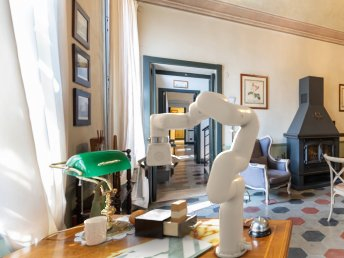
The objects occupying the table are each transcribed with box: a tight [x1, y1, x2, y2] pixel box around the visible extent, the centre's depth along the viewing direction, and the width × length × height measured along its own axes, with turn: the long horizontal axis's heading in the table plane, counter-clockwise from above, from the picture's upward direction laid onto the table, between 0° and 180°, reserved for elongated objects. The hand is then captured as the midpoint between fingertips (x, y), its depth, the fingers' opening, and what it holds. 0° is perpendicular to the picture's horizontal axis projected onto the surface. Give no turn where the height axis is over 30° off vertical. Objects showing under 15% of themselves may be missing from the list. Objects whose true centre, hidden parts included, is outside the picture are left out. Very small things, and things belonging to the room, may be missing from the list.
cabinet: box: [134, 208, 171, 240], centre depth 114 cm, size 15×13×8 cm
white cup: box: [83, 216, 108, 246], centre depth 103 cm, size 8×8×10 cm
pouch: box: [88, 178, 108, 222], centre depth 115 cm, size 11×12×25 cm
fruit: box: [128, 209, 147, 226], centre depth 123 cm, size 8×8×8 cm
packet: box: [170, 199, 188, 224], centre depth 111 cm, size 4×6×13 cm
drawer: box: [163, 214, 203, 239], centre depth 111 cm, size 18×12×6 cm, turn 78°
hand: (159, 177), depth 108 cm, fingers open, 9 cm apart
